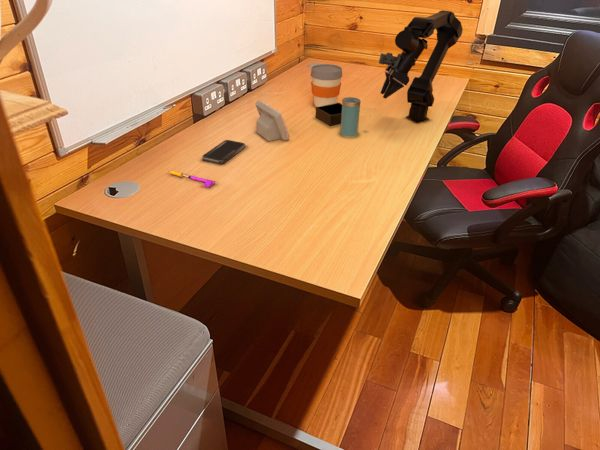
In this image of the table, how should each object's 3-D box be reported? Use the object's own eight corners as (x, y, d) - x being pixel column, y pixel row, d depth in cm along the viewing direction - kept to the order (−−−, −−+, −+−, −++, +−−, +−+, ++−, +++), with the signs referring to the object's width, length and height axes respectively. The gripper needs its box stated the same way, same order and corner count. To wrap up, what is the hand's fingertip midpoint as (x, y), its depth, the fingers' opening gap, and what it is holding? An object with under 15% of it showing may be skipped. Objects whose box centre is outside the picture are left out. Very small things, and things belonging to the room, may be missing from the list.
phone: (200, 156, 148) (226, 139, 159) (201, 159, 148) (226, 142, 160) (222, 161, 145) (246, 143, 156) (222, 164, 146) (246, 146, 157)
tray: (338, 113, 184) (339, 102, 182) (353, 122, 177) (354, 110, 174) (315, 118, 179) (315, 107, 177) (330, 127, 172) (330, 115, 170)
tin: (350, 129, 171) (353, 96, 164) (361, 135, 166) (364, 101, 159) (336, 132, 168) (338, 98, 161) (346, 139, 164) (349, 104, 157)
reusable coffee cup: (305, 108, 189) (306, 70, 180) (316, 98, 198) (317, 62, 190) (334, 112, 185) (336, 74, 177) (344, 102, 195) (346, 66, 186)
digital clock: (290, 141, 161) (290, 112, 155) (265, 145, 158) (264, 115, 152) (276, 125, 174) (276, 96, 168) (253, 127, 171) (251, 99, 165)
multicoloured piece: (215, 183, 136) (171, 172, 141) (215, 180, 135) (170, 169, 140) (211, 189, 134) (166, 177, 140) (210, 186, 133) (165, 174, 139)
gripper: (387, 40, 165) (362, 79, 171) (393, 44, 148) (365, 87, 154) (412, 58, 167) (386, 96, 173) (421, 63, 150) (393, 105, 156)
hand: (382, 95), depth 164 cm, fingers open, 9 cm apart
